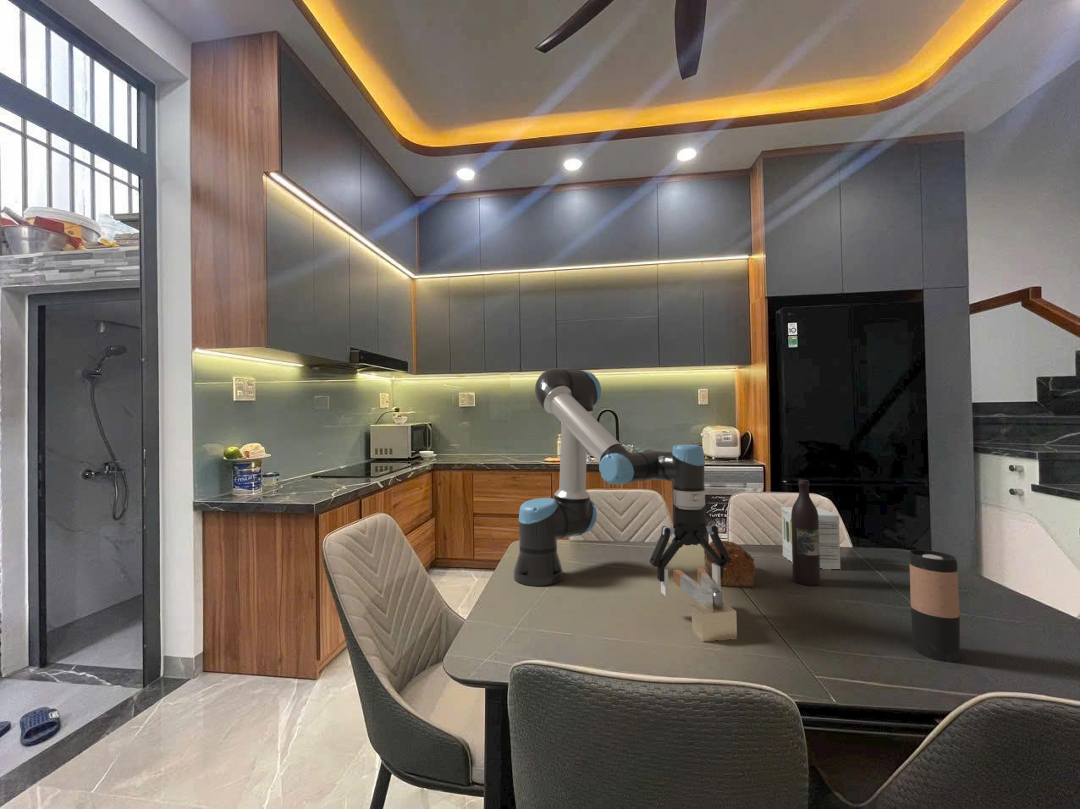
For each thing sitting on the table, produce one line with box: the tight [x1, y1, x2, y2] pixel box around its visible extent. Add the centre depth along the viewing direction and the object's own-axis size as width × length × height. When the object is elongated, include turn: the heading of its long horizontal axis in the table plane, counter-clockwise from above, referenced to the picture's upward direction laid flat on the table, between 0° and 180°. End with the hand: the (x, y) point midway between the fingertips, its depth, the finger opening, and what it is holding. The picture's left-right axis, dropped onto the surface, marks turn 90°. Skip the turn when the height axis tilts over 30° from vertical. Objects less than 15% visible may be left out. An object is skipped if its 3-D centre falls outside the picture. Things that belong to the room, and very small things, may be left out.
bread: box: [703, 540, 756, 588], centre depth 140 cm, size 19×11×10 cm, turn 173°
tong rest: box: [672, 569, 738, 642], centre depth 109 cm, size 20×8×9 cm, turn 8°
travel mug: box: [908, 549, 961, 663], centre depth 94 cm, size 8×8×20 cm
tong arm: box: [696, 567, 723, 609], centre depth 110 cm, size 18×2×3 cm, turn 173°
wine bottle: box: [791, 479, 821, 587], centre depth 135 cm, size 7×7×30 cm
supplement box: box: [781, 506, 841, 570], centre depth 152 cm, size 13×13×18 cm
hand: (690, 592), depth 113 cm, fingers open, 13 cm apart
